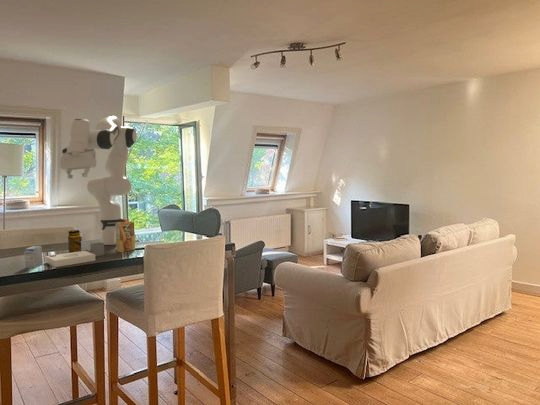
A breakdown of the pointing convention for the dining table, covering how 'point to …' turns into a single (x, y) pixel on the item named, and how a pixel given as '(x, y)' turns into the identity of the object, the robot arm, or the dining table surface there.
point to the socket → (70, 258)
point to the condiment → (74, 241)
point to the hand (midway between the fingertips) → (77, 177)
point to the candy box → (125, 236)
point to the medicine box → (33, 256)
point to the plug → (97, 248)
